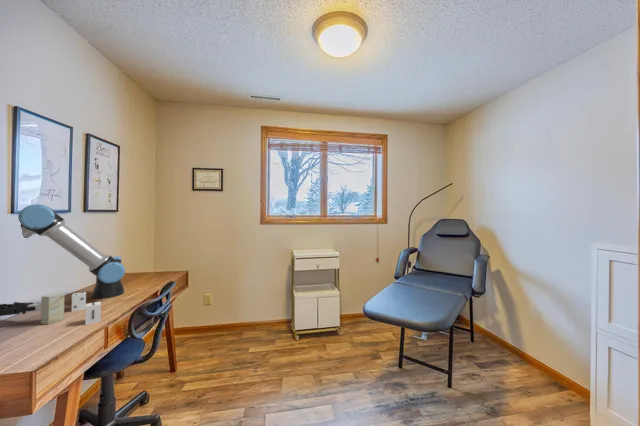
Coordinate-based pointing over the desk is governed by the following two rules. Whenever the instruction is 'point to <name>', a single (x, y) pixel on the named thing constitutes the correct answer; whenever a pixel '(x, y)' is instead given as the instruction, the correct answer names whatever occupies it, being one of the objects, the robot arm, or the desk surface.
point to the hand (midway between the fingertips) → (45, 307)
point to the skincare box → (52, 308)
